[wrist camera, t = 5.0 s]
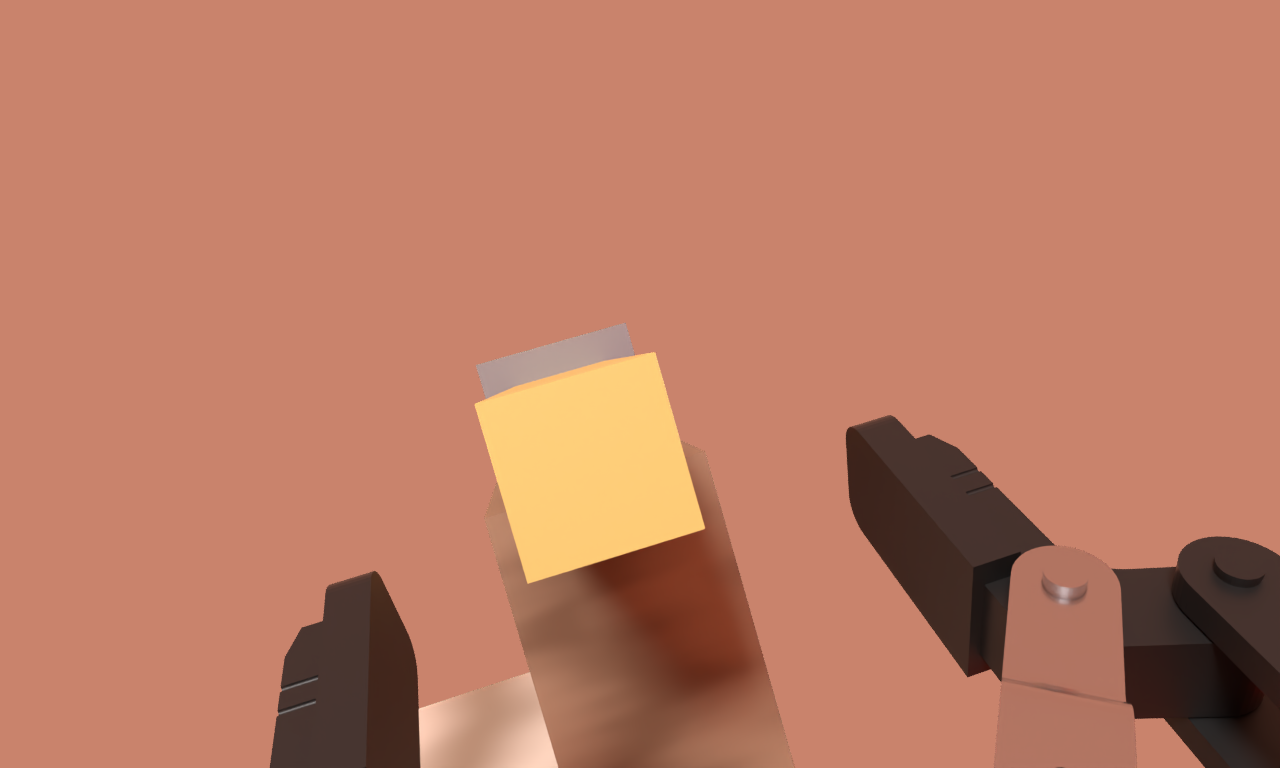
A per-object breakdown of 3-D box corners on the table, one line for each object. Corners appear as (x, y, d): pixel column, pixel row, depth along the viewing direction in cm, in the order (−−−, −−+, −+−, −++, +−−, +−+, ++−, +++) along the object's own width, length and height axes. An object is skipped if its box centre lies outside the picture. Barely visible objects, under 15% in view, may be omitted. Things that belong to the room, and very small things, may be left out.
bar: (466, 602, 14) (394, 360, 13) (516, 469, 31) (486, 365, 31) (763, 511, 14) (696, 276, 14) (646, 431, 32) (616, 328, 32)
